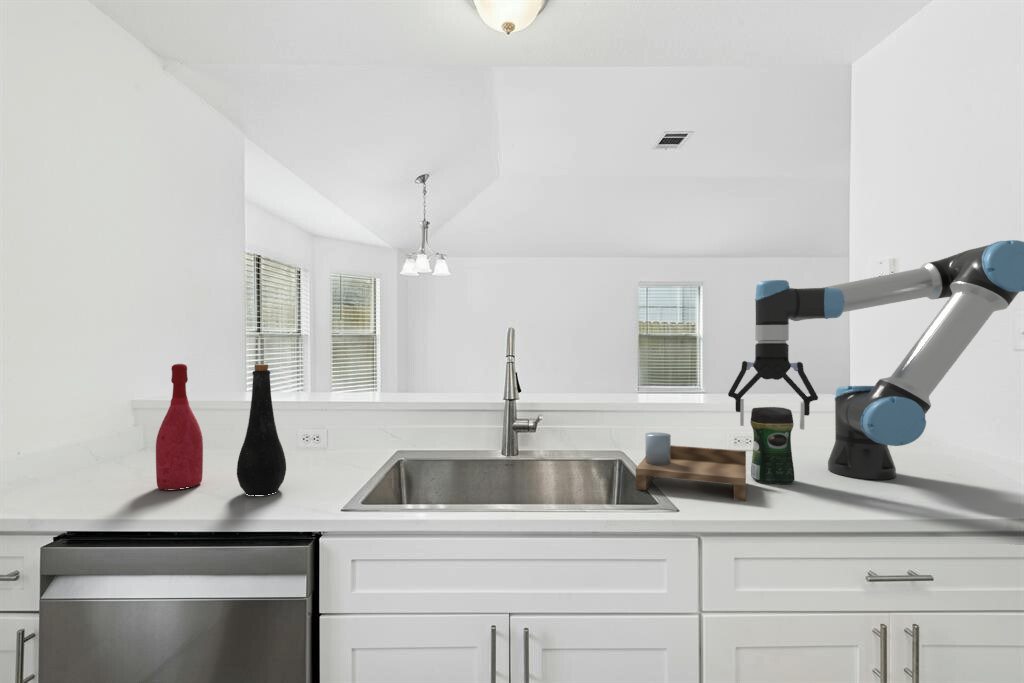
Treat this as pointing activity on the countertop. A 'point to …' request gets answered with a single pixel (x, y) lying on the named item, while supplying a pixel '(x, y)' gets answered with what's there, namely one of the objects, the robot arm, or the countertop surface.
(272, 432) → the bottle
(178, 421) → the wine bottle
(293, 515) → the countertop surface
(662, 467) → the shelf
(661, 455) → the grey blue cylinder
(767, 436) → the coffee jar
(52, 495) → the countertop surface
